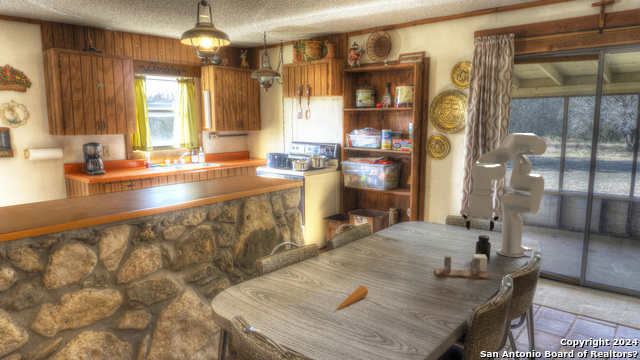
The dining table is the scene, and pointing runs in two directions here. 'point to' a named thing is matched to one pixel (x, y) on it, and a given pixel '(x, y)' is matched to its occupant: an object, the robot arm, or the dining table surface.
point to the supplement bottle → (483, 246)
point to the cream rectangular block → (482, 261)
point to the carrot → (354, 296)
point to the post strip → (462, 273)
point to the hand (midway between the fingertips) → (479, 229)
